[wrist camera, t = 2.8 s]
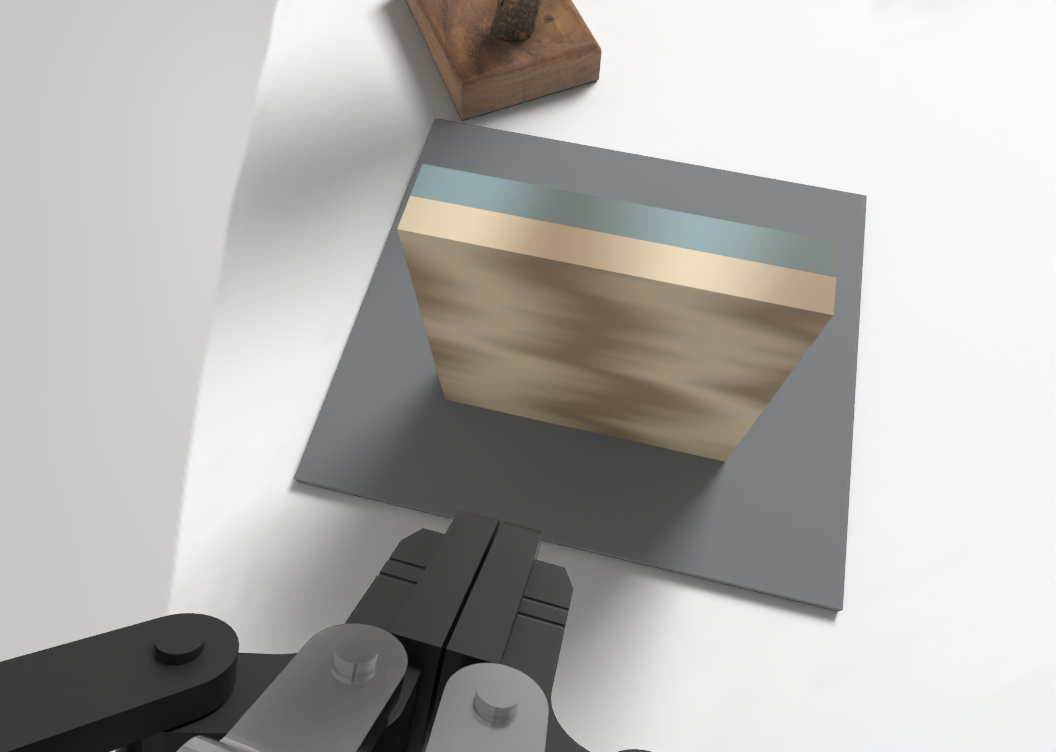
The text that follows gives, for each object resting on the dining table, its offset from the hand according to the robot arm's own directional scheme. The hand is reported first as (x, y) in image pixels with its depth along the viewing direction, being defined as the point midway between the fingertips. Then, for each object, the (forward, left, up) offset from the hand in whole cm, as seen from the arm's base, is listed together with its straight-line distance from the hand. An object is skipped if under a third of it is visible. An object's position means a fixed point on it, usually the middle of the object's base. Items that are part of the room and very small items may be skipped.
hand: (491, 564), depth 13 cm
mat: (-1, -14, -16) cm, 22 cm away
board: (-1, -10, -16) cm, 19 cm away
